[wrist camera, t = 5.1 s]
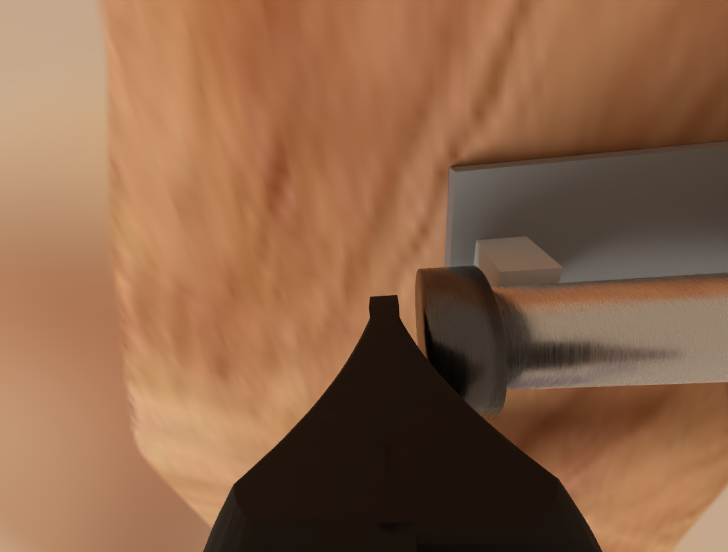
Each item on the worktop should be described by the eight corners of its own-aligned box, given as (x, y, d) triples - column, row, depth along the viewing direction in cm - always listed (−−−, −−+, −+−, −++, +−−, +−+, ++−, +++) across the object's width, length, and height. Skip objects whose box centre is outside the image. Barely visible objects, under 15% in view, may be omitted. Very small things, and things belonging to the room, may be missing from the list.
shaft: (826, 324, 11) (1109, 460, 7) (415, 344, 12) (436, 471, 8) (940, 192, 9) (1490, 276, 4) (413, 234, 10) (442, 331, 6)
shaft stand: (796, 305, 14) (1105, 451, 8) (442, 324, 16) (485, 462, 10) (938, 120, 10) (1729, 139, 4) (449, 167, 12) (529, 231, 6)
